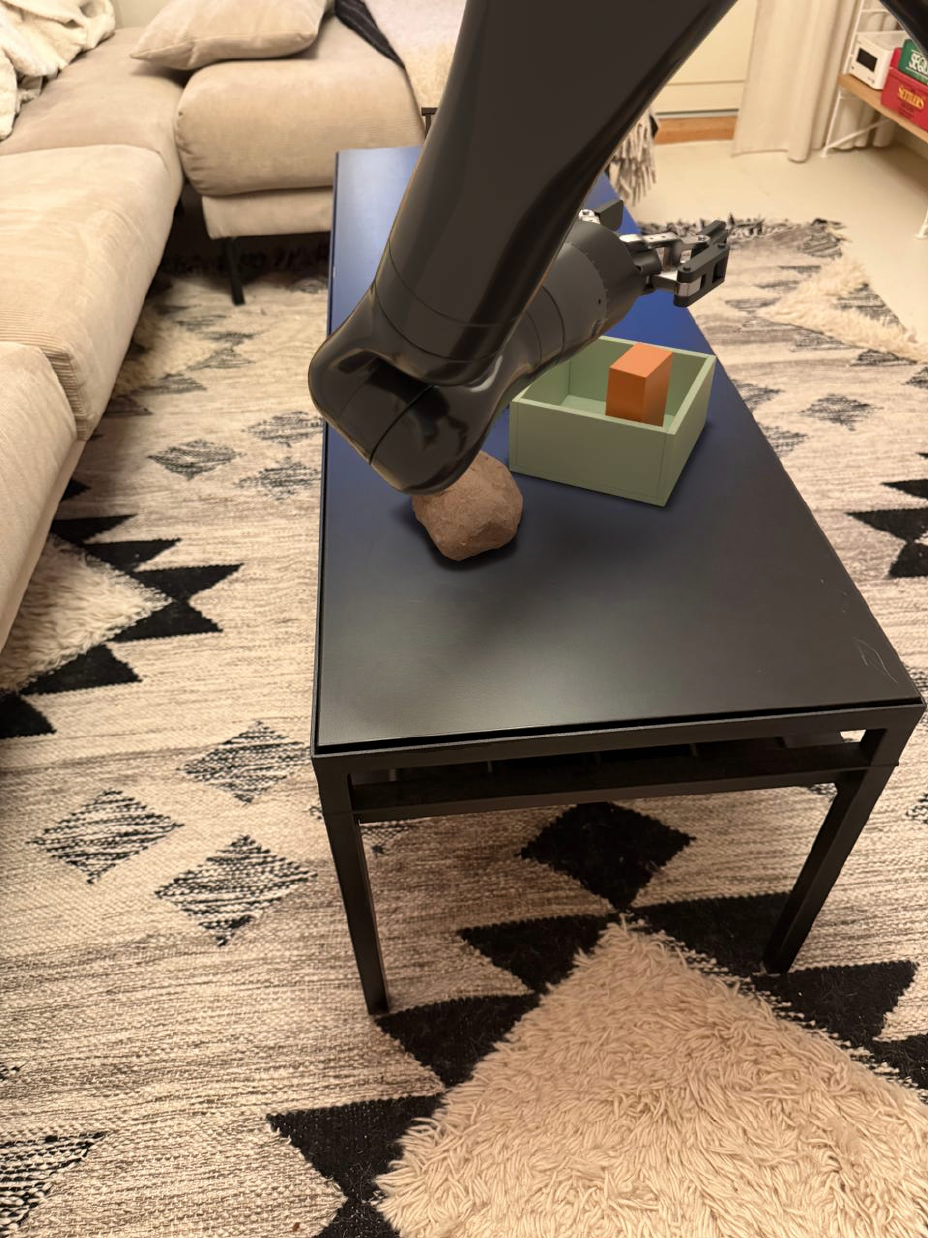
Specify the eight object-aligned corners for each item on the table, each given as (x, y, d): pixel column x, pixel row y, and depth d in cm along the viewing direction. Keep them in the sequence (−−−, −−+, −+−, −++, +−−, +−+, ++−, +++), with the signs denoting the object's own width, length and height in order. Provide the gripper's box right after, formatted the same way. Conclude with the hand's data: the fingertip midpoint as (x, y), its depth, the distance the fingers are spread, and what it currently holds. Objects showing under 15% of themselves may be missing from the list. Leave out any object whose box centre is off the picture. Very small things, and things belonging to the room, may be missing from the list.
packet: (659, 455, 90) (673, 351, 83) (633, 483, 87) (646, 377, 80) (626, 444, 92) (637, 341, 84) (599, 471, 89) (609, 366, 81)
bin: (704, 424, 96) (717, 355, 91) (664, 507, 86) (675, 434, 80) (563, 396, 101) (567, 328, 95) (508, 470, 91) (509, 400, 85)
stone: (414, 508, 90) (362, 456, 82) (487, 446, 89) (442, 387, 81) (478, 594, 83) (429, 546, 75) (558, 527, 82) (517, 471, 74)
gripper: (658, 266, 55) (766, 187, 65) (466, 220, 62) (590, 154, 71) (645, 379, 60) (746, 291, 70) (469, 326, 67) (584, 252, 76)
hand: (667, 222), depth 70 cm, fingers open, 8 cm apart
